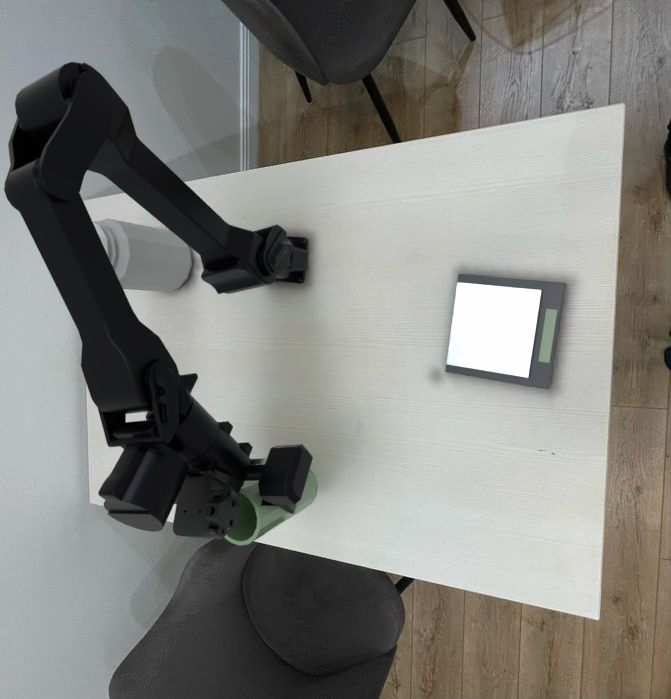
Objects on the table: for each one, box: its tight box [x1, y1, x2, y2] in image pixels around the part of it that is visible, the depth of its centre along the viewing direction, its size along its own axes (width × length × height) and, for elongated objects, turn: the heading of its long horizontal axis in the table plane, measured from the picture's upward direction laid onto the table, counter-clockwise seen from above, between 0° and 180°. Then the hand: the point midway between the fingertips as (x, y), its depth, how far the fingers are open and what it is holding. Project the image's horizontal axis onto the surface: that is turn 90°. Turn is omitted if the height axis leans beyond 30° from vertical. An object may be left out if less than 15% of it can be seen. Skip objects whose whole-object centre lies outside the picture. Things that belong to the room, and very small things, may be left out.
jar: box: [92, 218, 193, 293], centre depth 80 cm, size 10×10×18 cm
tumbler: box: [223, 467, 319, 547], centre depth 66 cm, size 7×7×13 cm
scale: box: [444, 273, 567, 390], centre depth 63 cm, size 12×12×3 cm
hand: (269, 509), depth 66 cm, fingers closed on tumbler, 7 cm apart
